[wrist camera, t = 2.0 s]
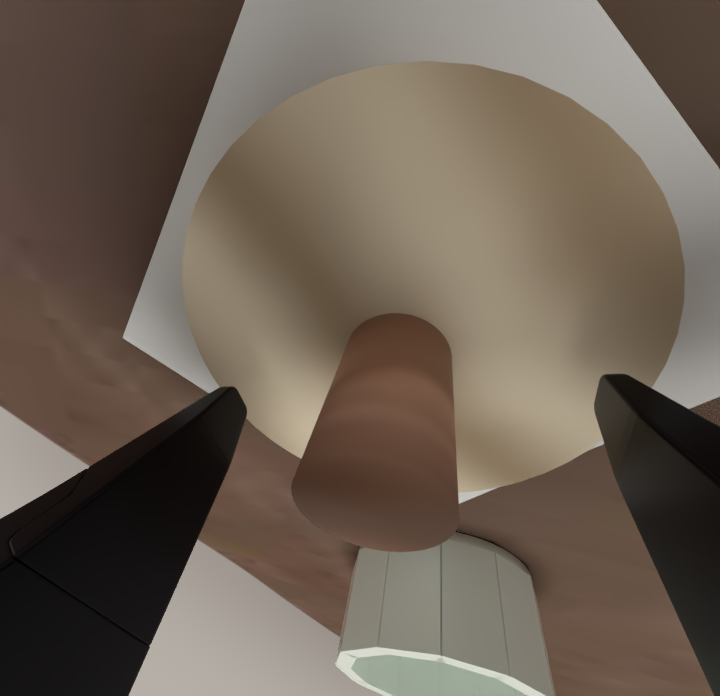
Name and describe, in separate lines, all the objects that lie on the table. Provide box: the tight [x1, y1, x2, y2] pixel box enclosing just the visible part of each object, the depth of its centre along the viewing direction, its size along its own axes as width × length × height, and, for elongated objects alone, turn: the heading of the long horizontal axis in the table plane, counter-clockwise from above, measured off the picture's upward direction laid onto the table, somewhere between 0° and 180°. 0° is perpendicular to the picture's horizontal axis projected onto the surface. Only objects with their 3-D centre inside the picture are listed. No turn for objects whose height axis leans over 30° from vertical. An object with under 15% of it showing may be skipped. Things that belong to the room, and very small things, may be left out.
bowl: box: [335, 532, 555, 696], centre depth 18 cm, size 10×10×5 cm
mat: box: [123, 0, 720, 503], centre depth 11 cm, size 15×15×1 cm
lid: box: [182, 61, 685, 552], centre depth 8 cm, size 13×13×6 cm
